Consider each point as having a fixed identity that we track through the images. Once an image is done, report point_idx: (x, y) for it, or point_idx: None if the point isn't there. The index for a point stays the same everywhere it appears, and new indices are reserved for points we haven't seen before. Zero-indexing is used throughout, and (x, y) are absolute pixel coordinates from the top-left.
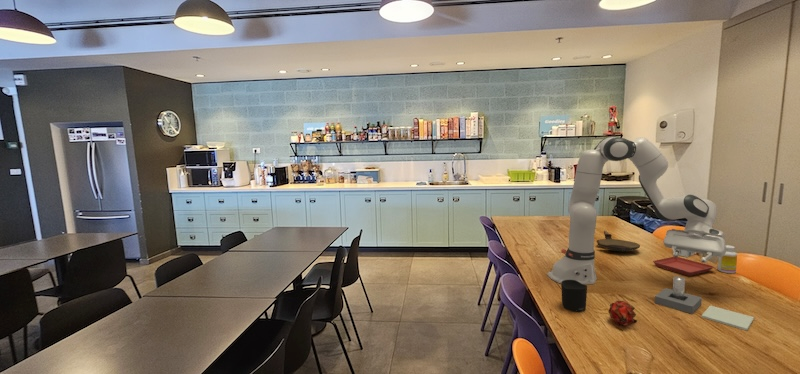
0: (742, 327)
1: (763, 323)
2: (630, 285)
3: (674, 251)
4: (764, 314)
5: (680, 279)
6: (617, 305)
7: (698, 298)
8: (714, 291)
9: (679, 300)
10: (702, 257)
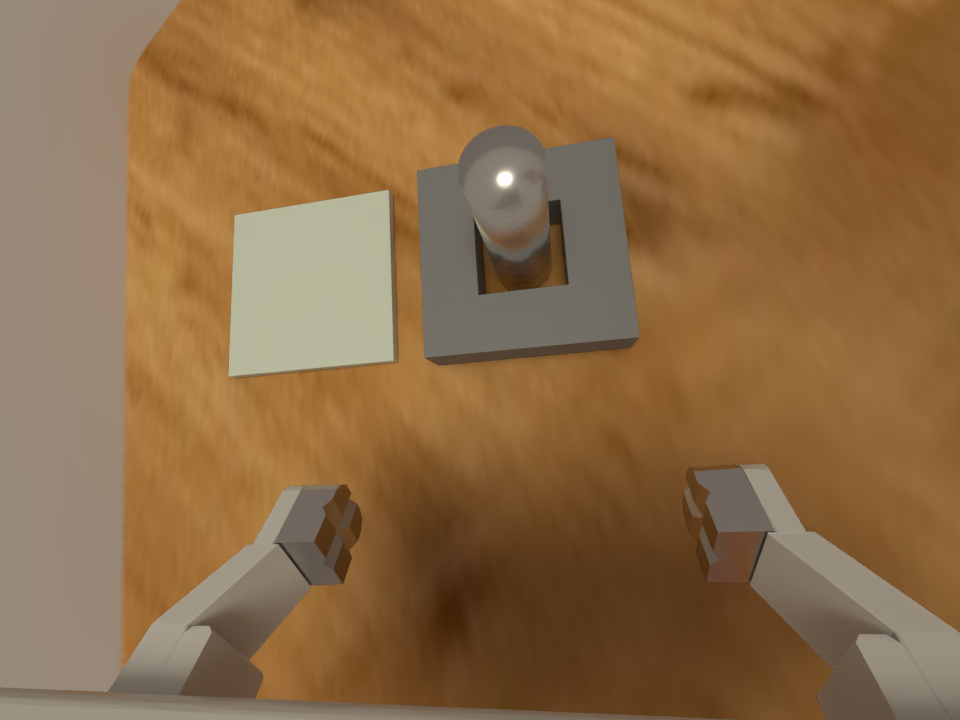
0: (249, 214)
1: (206, 362)
2: (872, 320)
3: (795, 536)
4: (210, 489)
5: (481, 140)
6: None
7: (431, 322)
8: (448, 686)
9: None
10: (312, 530)
